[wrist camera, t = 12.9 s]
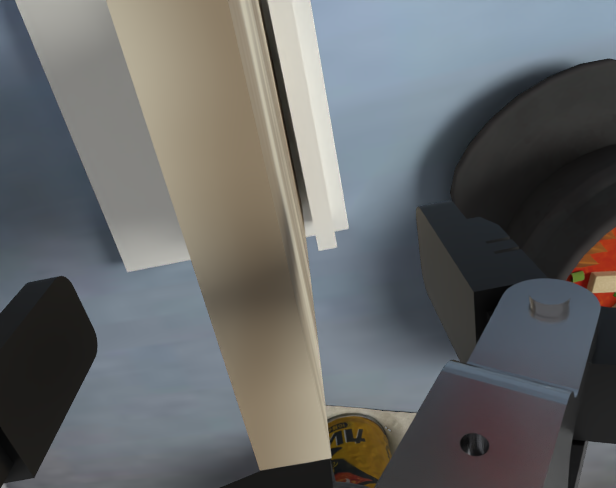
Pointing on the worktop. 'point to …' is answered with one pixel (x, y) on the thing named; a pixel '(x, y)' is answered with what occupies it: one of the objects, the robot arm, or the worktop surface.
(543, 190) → the casserole
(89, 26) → the rack
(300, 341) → the birch sheet
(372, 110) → the worktop surface
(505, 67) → the worktop surface
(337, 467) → the condiment
